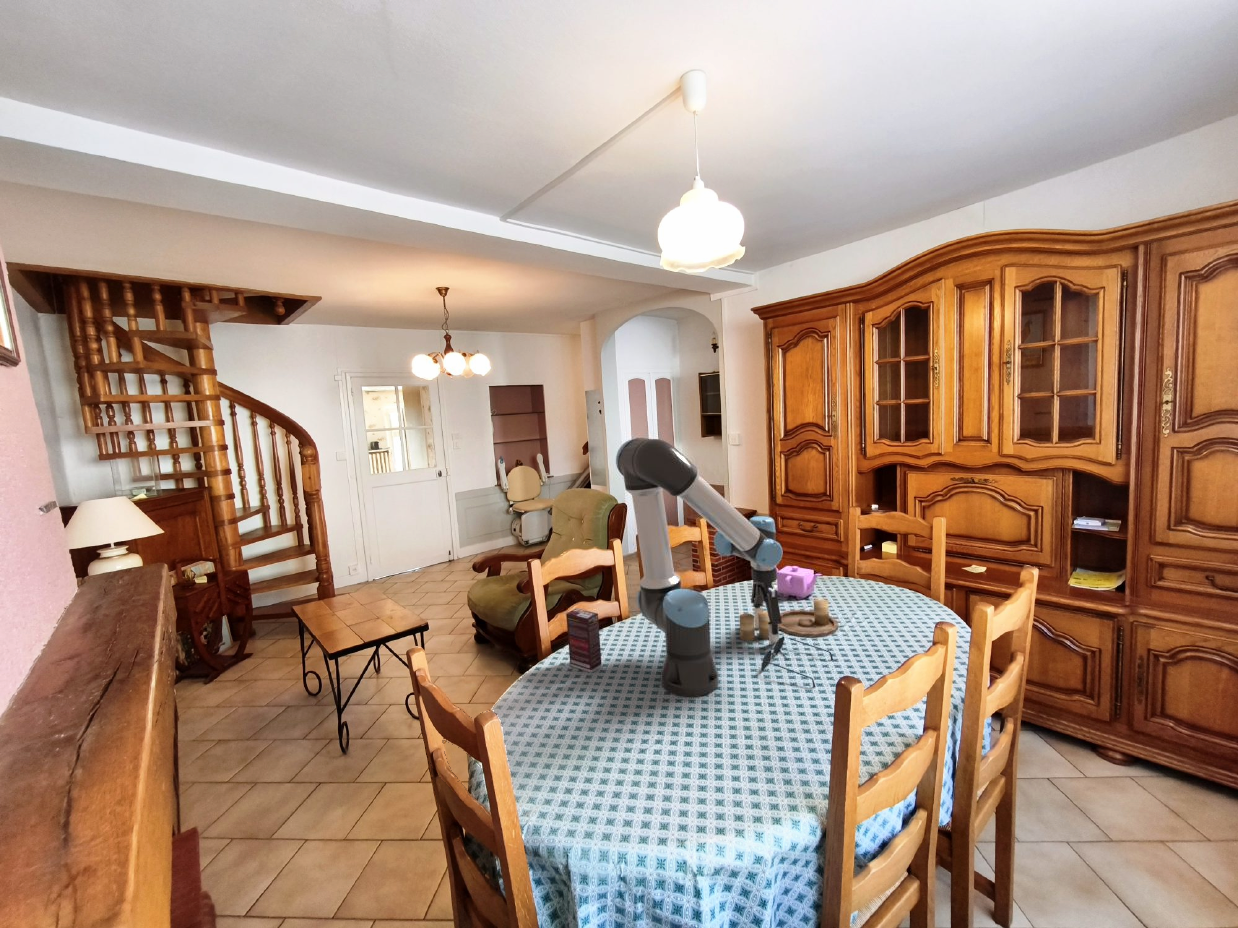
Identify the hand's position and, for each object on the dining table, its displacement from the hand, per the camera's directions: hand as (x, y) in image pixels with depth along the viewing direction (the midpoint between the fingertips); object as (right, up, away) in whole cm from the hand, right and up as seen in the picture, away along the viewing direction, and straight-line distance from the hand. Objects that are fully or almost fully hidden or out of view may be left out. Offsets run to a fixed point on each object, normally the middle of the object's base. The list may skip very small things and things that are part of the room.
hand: (766, 635), depth 165 cm
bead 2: (0, 0, 0) cm, 0 cm away
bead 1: (-6, -1, -1) cm, 6 cm away
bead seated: (+19, +2, +5) cm, 20 cm away
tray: (+14, +1, +5) cm, 15 cm away
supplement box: (-55, -5, -12) cm, 57 cm away
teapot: (+20, +4, +33) cm, 39 cm away
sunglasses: (+3, -3, -20) cm, 20 cm away
